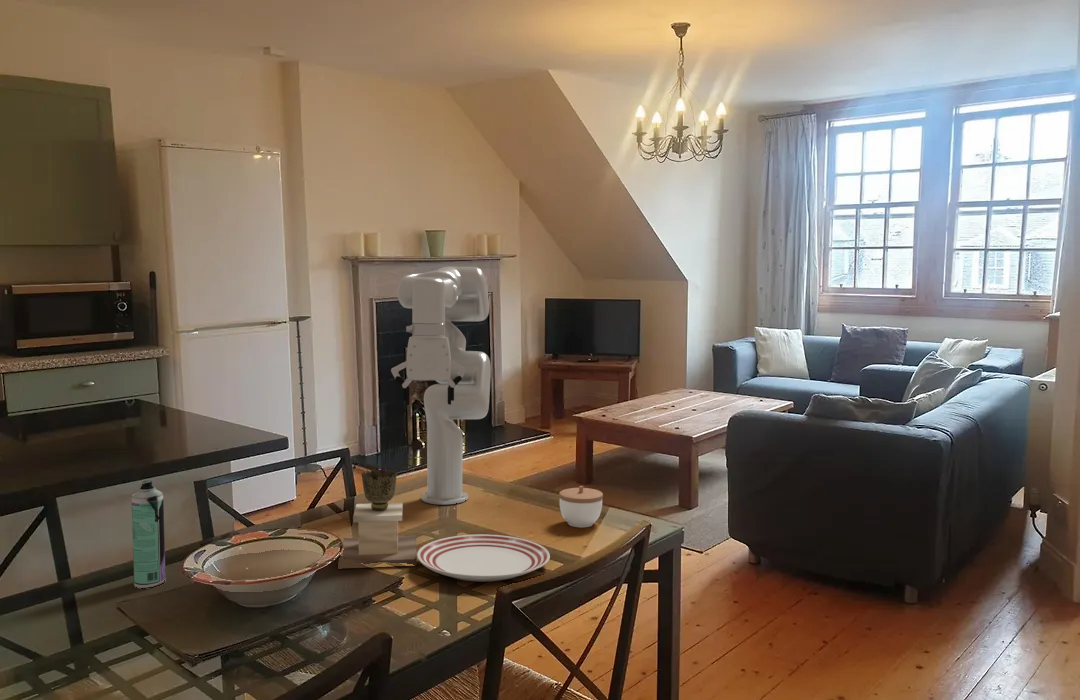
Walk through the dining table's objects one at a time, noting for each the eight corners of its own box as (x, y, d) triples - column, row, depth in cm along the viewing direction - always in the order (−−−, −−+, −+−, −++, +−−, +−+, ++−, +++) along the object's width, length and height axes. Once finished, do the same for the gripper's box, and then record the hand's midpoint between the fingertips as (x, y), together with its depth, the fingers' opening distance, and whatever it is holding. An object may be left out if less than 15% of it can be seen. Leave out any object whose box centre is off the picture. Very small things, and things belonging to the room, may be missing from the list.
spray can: (171, 580, 156) (169, 479, 155) (149, 590, 151) (147, 486, 150) (149, 576, 158) (147, 477, 156) (127, 586, 153) (124, 483, 151)
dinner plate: (489, 538, 185) (489, 524, 185) (577, 568, 166) (577, 552, 166) (390, 566, 166) (390, 550, 166) (476, 603, 147) (476, 586, 147)
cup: (401, 505, 175) (401, 469, 174) (392, 514, 168) (392, 476, 167) (367, 504, 176) (367, 468, 175) (357, 513, 168) (357, 475, 168)
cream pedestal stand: (343, 544, 179) (343, 500, 178) (416, 541, 181) (416, 498, 181) (337, 569, 163) (337, 521, 162) (416, 566, 166) (416, 518, 165)
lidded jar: (611, 523, 197) (611, 486, 197) (584, 533, 189) (585, 494, 188) (576, 515, 204) (577, 479, 204) (549, 524, 196) (550, 486, 195)
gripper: (390, 332, 181) (390, 407, 182) (467, 332, 184) (466, 406, 185) (391, 330, 188) (391, 402, 190) (464, 330, 191) (464, 401, 192)
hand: (428, 404), depth 187 cm, fingers open, 9 cm apart
